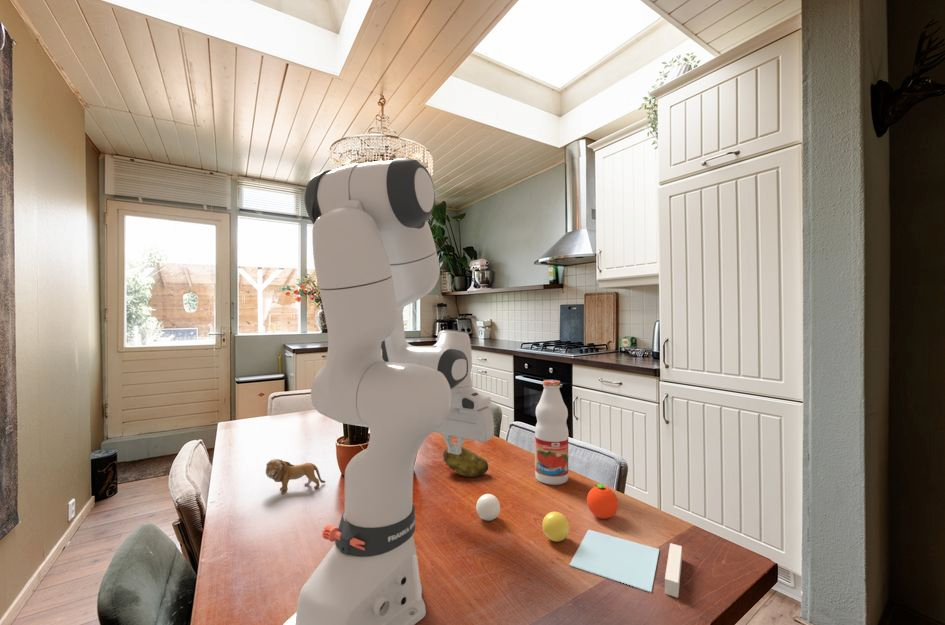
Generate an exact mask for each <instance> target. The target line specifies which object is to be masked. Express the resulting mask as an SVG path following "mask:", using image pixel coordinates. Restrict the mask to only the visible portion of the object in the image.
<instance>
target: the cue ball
mask: <svg viewBox="0 0 945 625" xmlns="http://www.w3.org/2000/svg"><path fill="white" fill-rule="evenodd" d="M475 508H476V512H477V515H478V516H479V518H481V519H482V520H484V521H487V522H488V521H489V522H490V521H493V520H495V519H496V518H497V517H498V516H499V514H500V512H501V503H500V500H499V499H498V498H497V497H496V496H495V495H494V494H491V493H484V494H483V495H481V496H480V497H479V498H478V499H477V502H476V506H475Z"/></svg>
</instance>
